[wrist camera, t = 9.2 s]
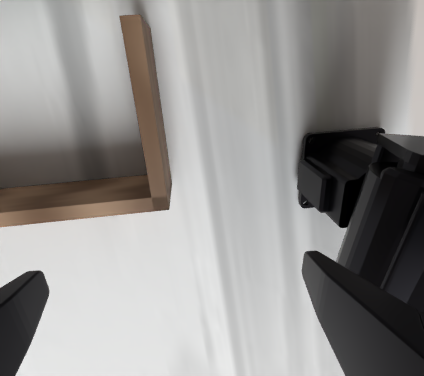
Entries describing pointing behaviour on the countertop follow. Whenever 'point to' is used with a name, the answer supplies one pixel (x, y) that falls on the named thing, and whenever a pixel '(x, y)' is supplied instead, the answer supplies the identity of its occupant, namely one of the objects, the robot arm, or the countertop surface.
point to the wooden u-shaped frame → (112, 187)
